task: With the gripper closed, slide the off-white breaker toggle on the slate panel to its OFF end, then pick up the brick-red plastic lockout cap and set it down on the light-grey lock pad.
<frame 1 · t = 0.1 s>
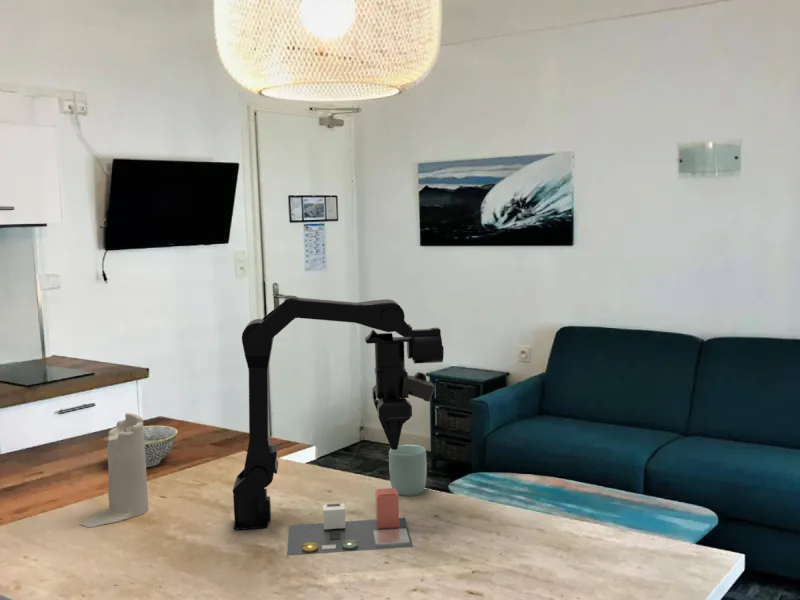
hand: (392, 442, 164), 14 cm above the table, fingers open, 9 cm apart
bowl: (145, 464, 204), on the table
grey tall curved piece: (115, 517, 169), on the table
panel: (349, 541, 152), on the table
breaker: (334, 533, 156), resting on panel, slide at 0.0 cm
lockout cap: (387, 523, 157), point 1 cm above the table, touching panel
cup: (408, 496, 175), on the table
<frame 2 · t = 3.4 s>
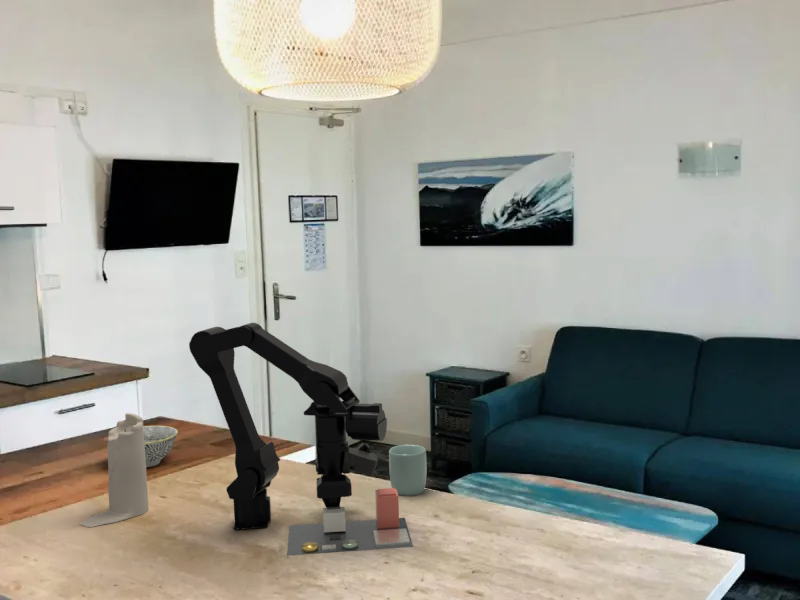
hand: (334, 518, 157), 2 cm above the table, fingers closed
breaker: (335, 536, 154), resting on panel, slide at 1.6 cm, touching gripper
everything else where it was.
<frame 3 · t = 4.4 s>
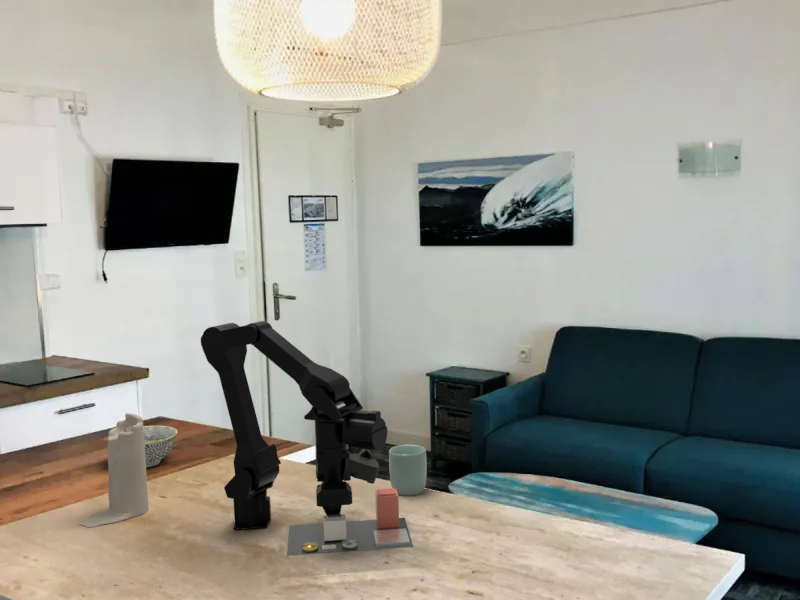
hand: (334, 526, 153), 2 cm above the table, fingers closed
breaker: (335, 545, 151), resting on panel, slide at 5.5 cm, touching gripper
everything else where it was.
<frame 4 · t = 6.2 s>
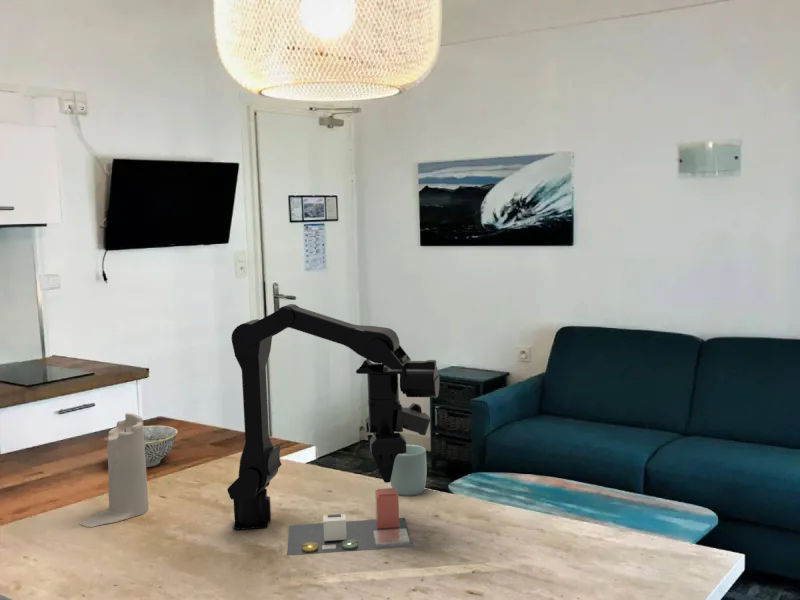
hand: (386, 478, 156), 10 cm above the table, fingers open, 4 cm apart
breaker: (335, 545, 151), resting on panel, slide at 5.5 cm
everything else where it was.
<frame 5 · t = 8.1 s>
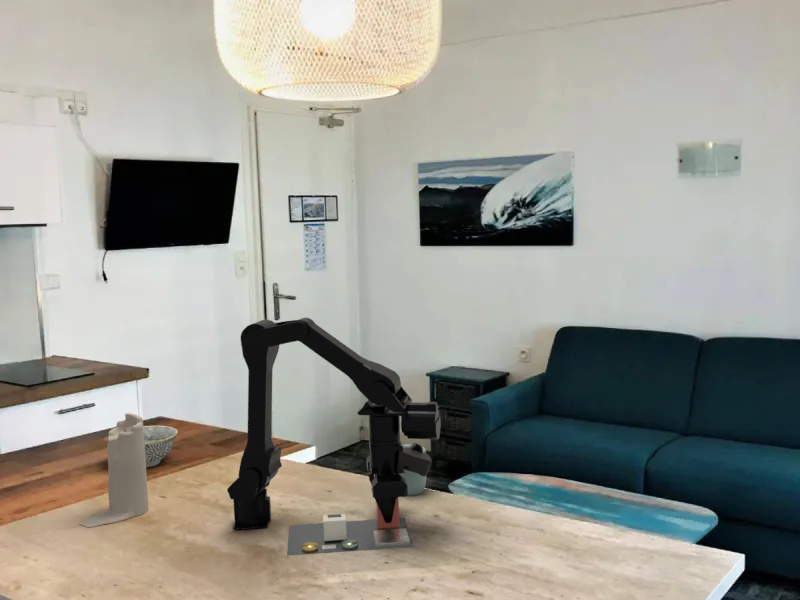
hand: (387, 518, 157), 2 cm above the table, fingers closed on lockout cap, 4 cm apart
lockout cap: (387, 523, 157), point 1 cm above the table, touching gripper, panel
everything else where it was.
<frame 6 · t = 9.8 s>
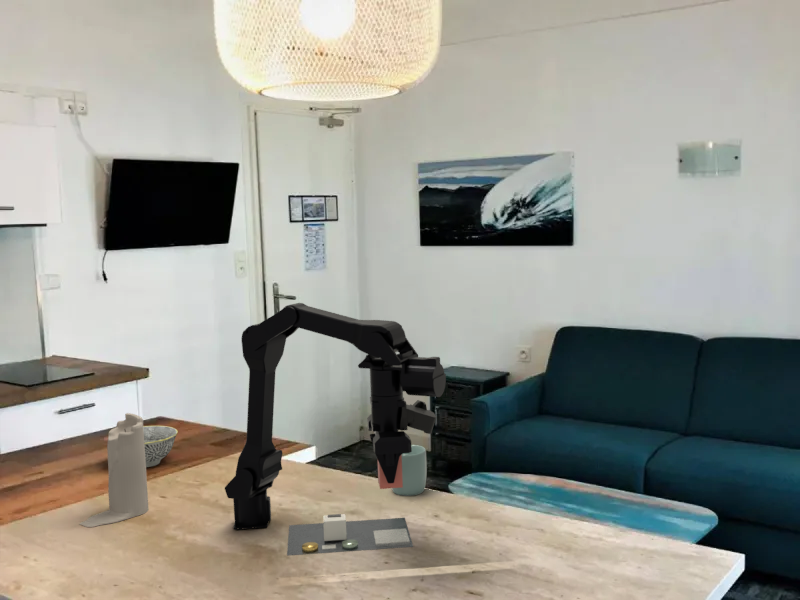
hand: (389, 479, 149), 12 cm above the table, fingers closed on lockout cap, 4 cm apart
lockout cap: (390, 484, 149), point 11 cm above the table, touching gripper
everything else where it was.
when the fingers open (4 cm above the table, at t = 11.6 s): lockout cap drops 1 cm, resting on panel.
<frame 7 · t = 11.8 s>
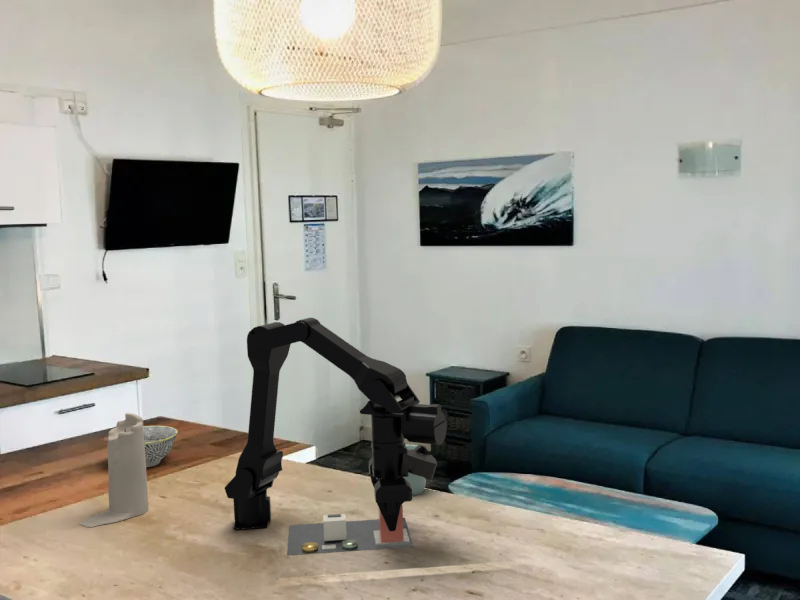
hand: (390, 524, 149), 4 cm above the table, fingers open, 6 cm apart
lockout cap: (391, 535, 149), point 2 cm above the table, touching panel
everything else where it was.
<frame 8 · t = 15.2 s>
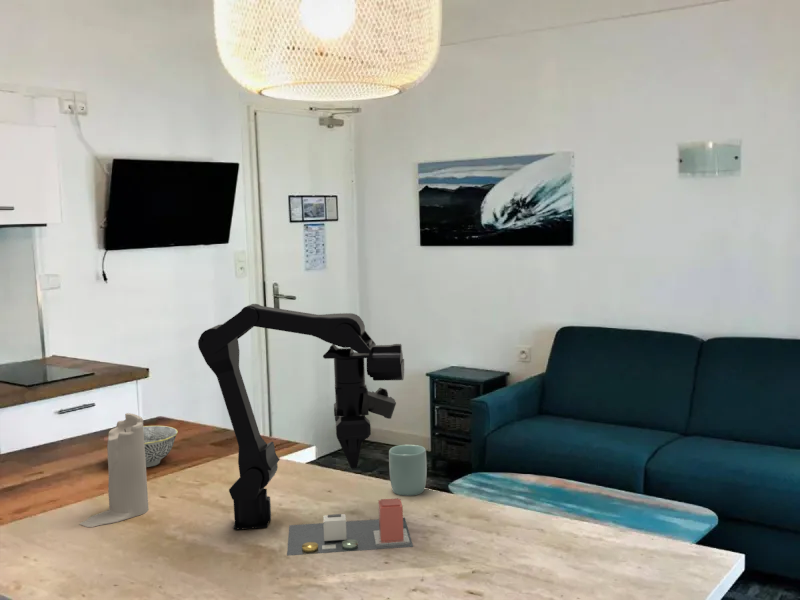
hand: (352, 461, 159), 13 cm above the table, fingers open, 9 cm apart
nothing on the table moved.
at the end: breaker slide at 5.5 cm; lockout cap inside the target area (0.0 cm from its centre), point 1.8 cm above the table; lockout cap tilted 0° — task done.
